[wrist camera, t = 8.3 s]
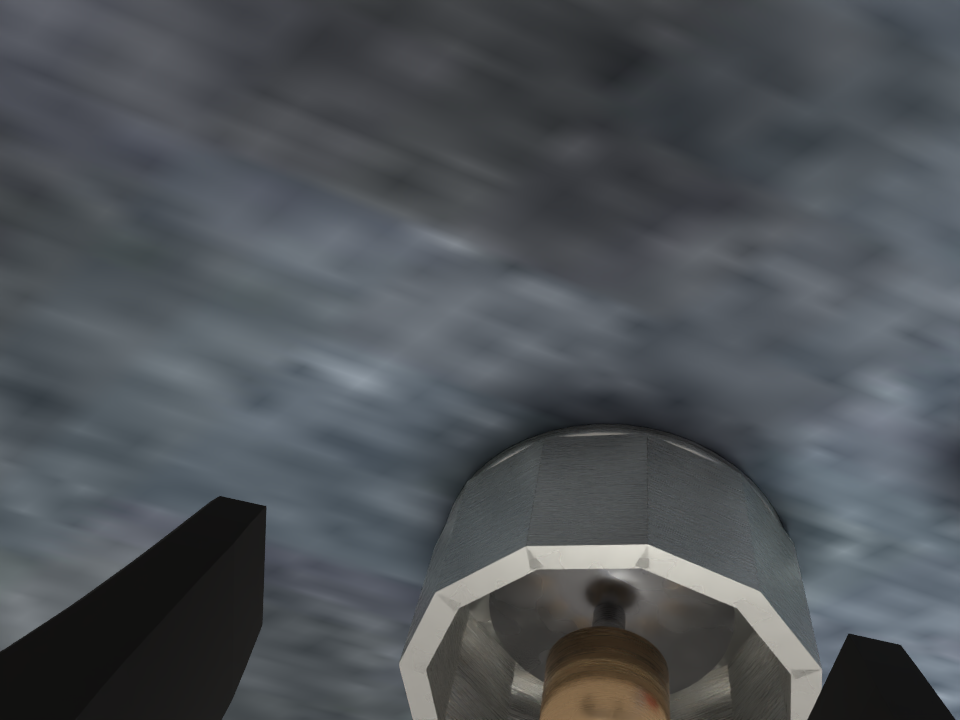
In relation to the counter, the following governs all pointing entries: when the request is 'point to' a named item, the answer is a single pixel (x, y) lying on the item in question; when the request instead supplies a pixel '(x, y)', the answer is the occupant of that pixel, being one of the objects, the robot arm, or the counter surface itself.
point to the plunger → (609, 639)
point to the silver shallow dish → (612, 545)
